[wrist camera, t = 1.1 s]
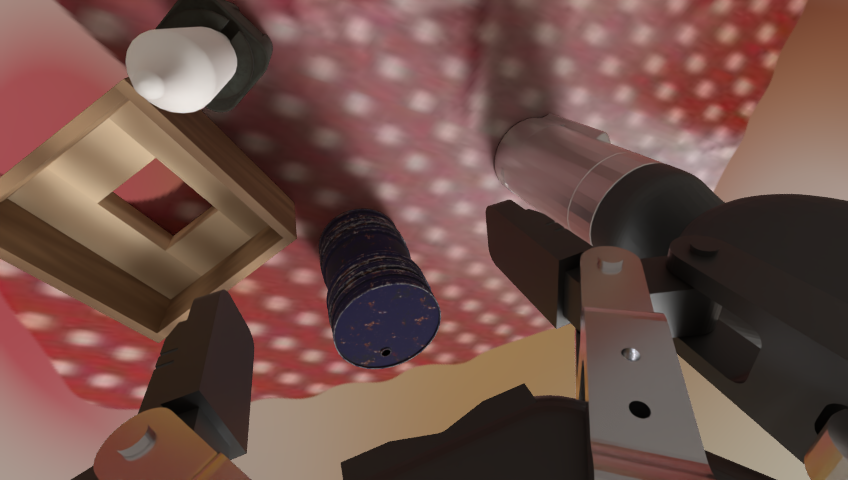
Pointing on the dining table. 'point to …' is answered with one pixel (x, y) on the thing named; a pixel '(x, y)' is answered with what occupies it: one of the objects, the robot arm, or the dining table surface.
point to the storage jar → (375, 292)
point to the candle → (198, 57)
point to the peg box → (139, 213)
